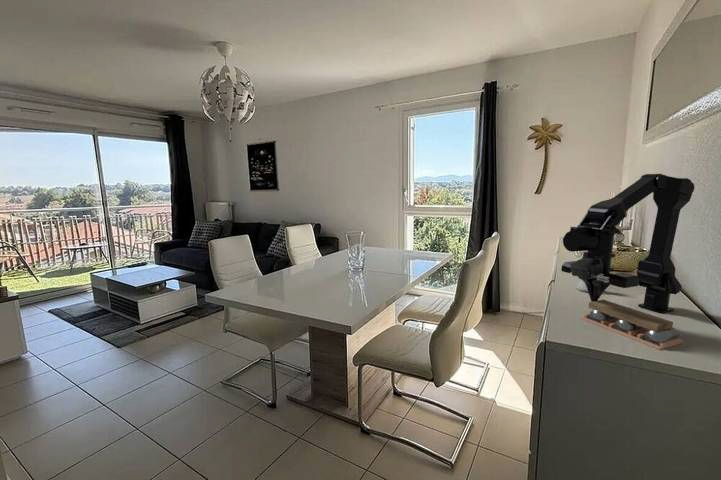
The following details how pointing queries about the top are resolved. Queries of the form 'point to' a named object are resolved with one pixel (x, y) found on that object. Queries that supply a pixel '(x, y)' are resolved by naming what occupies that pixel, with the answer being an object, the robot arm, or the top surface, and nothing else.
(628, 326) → the middle roller
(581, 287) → the flask
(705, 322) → the top surface
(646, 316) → the walnut board
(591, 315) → the rear roller
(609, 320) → the roller track
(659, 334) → the roller
